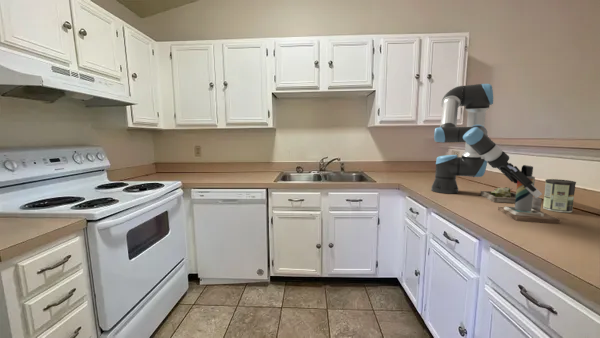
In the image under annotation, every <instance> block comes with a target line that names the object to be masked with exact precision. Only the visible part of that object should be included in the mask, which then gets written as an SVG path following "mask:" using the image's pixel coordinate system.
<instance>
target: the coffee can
mask: <svg viewBox="0 0 600 338" xmlns="http://www.w3.org/2000/svg"><path fill="white" fill-rule="evenodd" d="M576 184H577V181H575V180H574V181H573V180H568V179H567V180H566V179H558V178H555V179H553V178H551V179H548V178H547V179H545V186H544V195H543V202H542V203H543V204H542V205H543V206H542V209H544V210H547V211H549V212H550V211H551V212H556V213H565V214H566V213H567V214H568V213H573V207H574V200H575V193H576V192H575V190H576Z"/></svg>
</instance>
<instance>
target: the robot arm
mask: <svg viewBox="0 0 600 338" xmlns="http://www.w3.org/2000/svg"><path fill="white" fill-rule="evenodd" d="M440 104H441V105H440V106H441V107H442V111H441V118H440V124H439V127H436V128H434V135H433V139H434V142H436V143H465V145H464V147H465V148H464V152H463V153H462V154H461V157H459V156H458V154H447V155H439V156H437V157H436V159H435V160H436V162H435V174H434V175H435V176H434V180H433V182H432V185H431V191H432V192H433V193H434V192H435V193H439V194H458V193H459V187H458V183H457V177H469V178H470V177H471V178H472V177H473V178H481V177H483V176H484V175H485V173H486V170H487V165H489V166H490V167H491V168H492V169H498V170H499V171H500V172H501V173H502V174H503V175H504V176H505V177H506V178H507V179H508V180H509V181H510V182H511V183H514V184H515V185H516V186H517V180H518V181H519V182H520V183H521V184H523V185H524V187H523V188H526V189H527V190H528V191H529V192H530V193H531V194H532V195H533V197H535V198H540V197H541V196H542V195H543V193H542V192H541V191H540V190H539V189H538V188H537V187H536V186H535V184H534V185H533V184H532V183H533V182H532V181H531V180H530V179H529V178H528V177H526V176H525V175H524V174H523V173H522V172H521V170H520V169H519V168H518V166H516V165H513V164H512V163H511V162H510V163H509V160H510V155H508V154H507V153H506V152H505V151H503V149H502V148H501V147H500V146H499V145H498V144H497V143H495V142H494V140H492V139H491V138H490V137H489V135H488V131H487V129H486V127H485V125H486V124H485V123H486V115H487V114H486V113H487V111H488V110H489V109H490V106H492V105H494V89H493V86H492V84H490V83H478V84H477V83H476V84H470V85H469V84H468V85H459V86H456V87H453V88H451V89H450V90H449V91H448V92H446V93H445V94H444V96H443V97H442V100H441V103H440ZM459 107H465V108H464V109H465V111H466V112H467V120H466V126H458V113H459V111H458V110H459Z"/></svg>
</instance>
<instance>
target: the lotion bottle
mask: <svg viewBox="0 0 600 338" xmlns="http://www.w3.org/2000/svg"><path fill="white" fill-rule="evenodd" d="M520 171H521V172H522V173H523V174H524V175H525V176H526V177H528V178H529V179H530V180H531V181H532V182H533V183H532V184H533V185H534V186H535V183H536V182H535V181H536V177H535V176H533V173H534V166H531V165H526V164H523V165H522V166H521V170H520ZM516 184H517V185H516V190H515V193H516V199H515V203H514V207H515V209H516V210H519V211H526V212H529V211H531V209H532V200H533V197H534V196H533V195H532V194H531V193H530V192H529V191H528V190H527V189H526V188H523V187H524V185H523V184H521V183H520V182H519V181H518V180H517V183H516Z"/></svg>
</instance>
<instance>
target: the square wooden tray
mask: <svg viewBox="0 0 600 338" xmlns="http://www.w3.org/2000/svg"><path fill="white" fill-rule="evenodd" d="M492 191H493V190H491V191H487V190H486V191H485V190H480V196H481V197H482V198H485V199H487V200H489V201H491V202H492V203H501V204H502V203H503V204H504V203H506V204H515V199H516V192H514V191H510V192H511V197H510V198H505V197H495V196H493V195H491V192H492Z"/></svg>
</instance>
